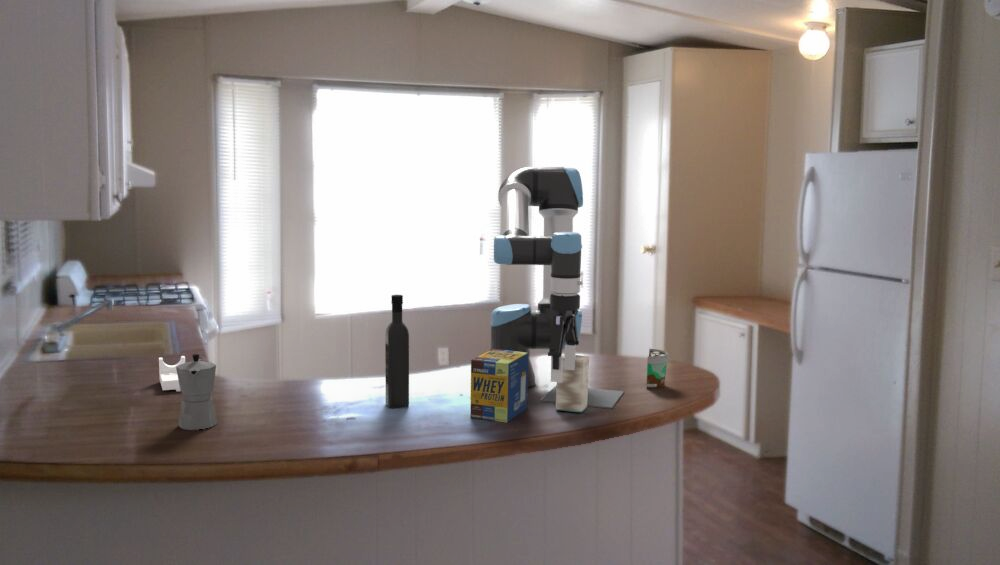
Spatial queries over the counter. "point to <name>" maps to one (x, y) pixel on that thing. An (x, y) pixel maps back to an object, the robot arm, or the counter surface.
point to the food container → (656, 368)
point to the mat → (591, 397)
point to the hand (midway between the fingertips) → (563, 375)
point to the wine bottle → (397, 358)
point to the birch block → (573, 386)
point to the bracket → (169, 375)
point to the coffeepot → (196, 394)
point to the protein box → (499, 385)
